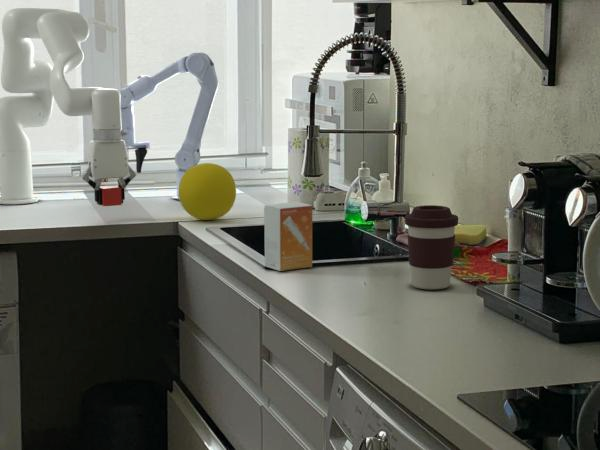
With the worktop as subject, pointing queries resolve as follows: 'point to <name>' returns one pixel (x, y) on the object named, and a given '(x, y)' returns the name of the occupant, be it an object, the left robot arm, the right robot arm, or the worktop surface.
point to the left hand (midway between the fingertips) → (109, 202)
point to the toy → (207, 191)
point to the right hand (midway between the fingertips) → (126, 173)
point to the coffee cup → (431, 245)
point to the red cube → (111, 195)
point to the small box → (288, 236)
